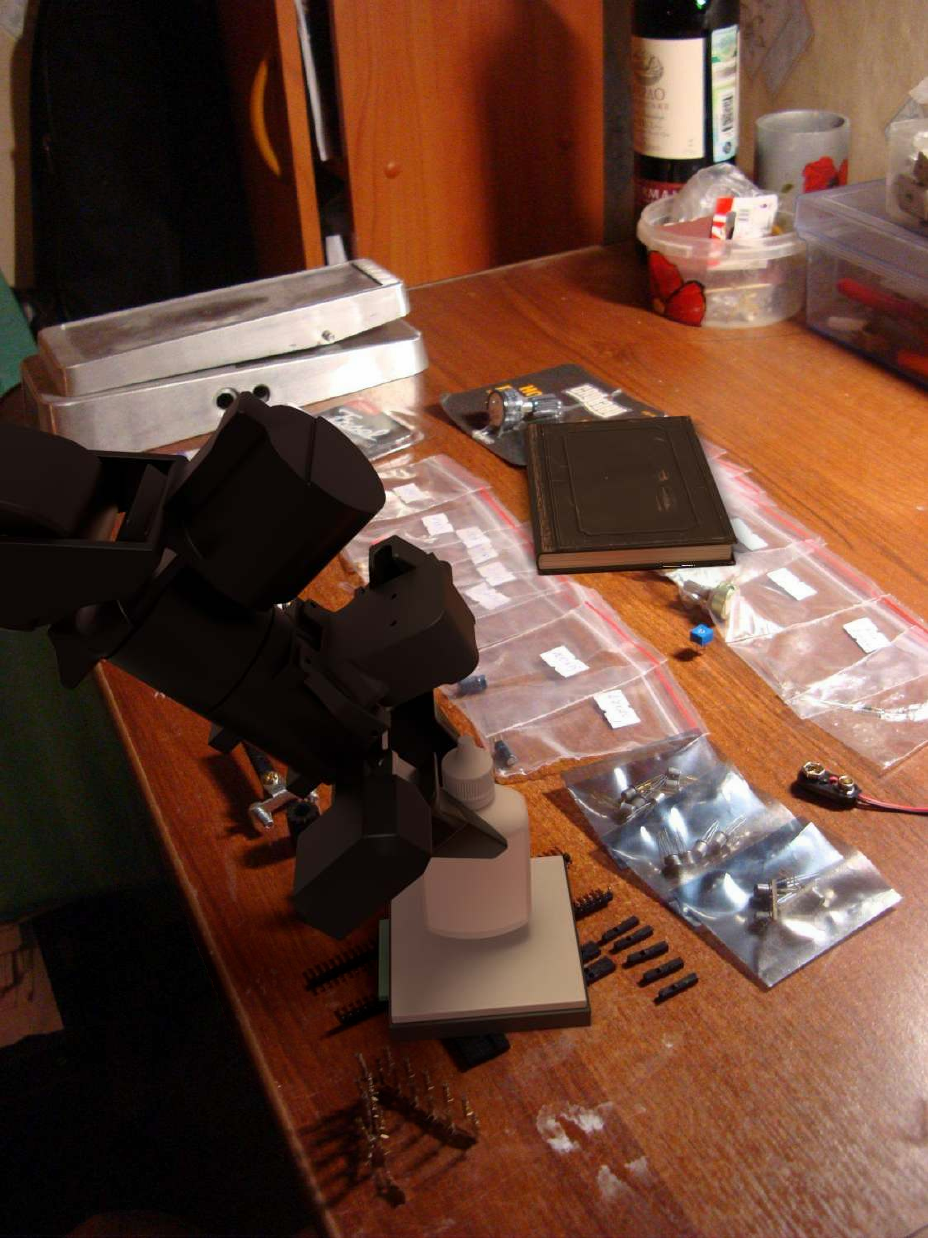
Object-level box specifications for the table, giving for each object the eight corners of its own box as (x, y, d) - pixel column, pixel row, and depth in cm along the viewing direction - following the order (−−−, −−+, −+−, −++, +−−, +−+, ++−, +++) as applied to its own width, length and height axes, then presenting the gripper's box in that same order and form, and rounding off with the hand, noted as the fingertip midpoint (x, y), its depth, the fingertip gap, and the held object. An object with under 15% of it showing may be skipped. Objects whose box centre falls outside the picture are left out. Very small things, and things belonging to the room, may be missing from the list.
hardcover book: (688, 436, 111) (690, 414, 110) (735, 564, 92) (737, 540, 91) (523, 446, 112) (522, 424, 110) (536, 575, 93) (536, 551, 91)
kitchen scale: (381, 1058, 58) (375, 1021, 56) (382, 903, 66) (376, 867, 64) (590, 1040, 58) (591, 1003, 56) (566, 888, 66) (565, 852, 64)
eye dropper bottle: (510, 963, 57) (503, 786, 50) (409, 928, 59) (389, 754, 52) (542, 900, 60) (540, 725, 53) (446, 869, 62) (432, 697, 55)
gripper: (346, 677, 38) (658, 879, 45) (358, 430, 53) (590, 608, 60) (157, 859, 43) (466, 1019, 49) (218, 583, 58) (448, 733, 64)
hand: (498, 822), depth 56 cm, fingers closed on eye dropper bottle, 3 cm apart
